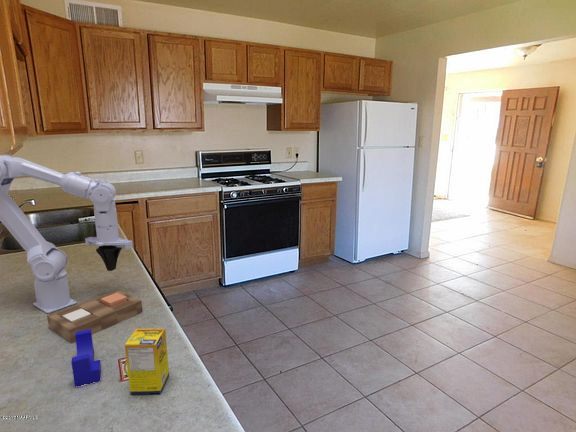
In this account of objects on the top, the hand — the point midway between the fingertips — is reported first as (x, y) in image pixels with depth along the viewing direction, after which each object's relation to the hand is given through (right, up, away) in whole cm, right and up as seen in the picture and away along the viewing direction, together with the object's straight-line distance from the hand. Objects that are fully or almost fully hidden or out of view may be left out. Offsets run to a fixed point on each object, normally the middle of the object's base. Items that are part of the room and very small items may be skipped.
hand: (111, 269), depth 109 cm
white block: (-2, -13, -14) cm, 19 cm away
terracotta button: (+4, -10, -6) cm, 13 cm away
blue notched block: (+9, -17, -30) cm, 35 cm away
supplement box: (+24, -18, -35) cm, 46 cm away
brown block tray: (+1, -12, -10) cm, 16 cm away
